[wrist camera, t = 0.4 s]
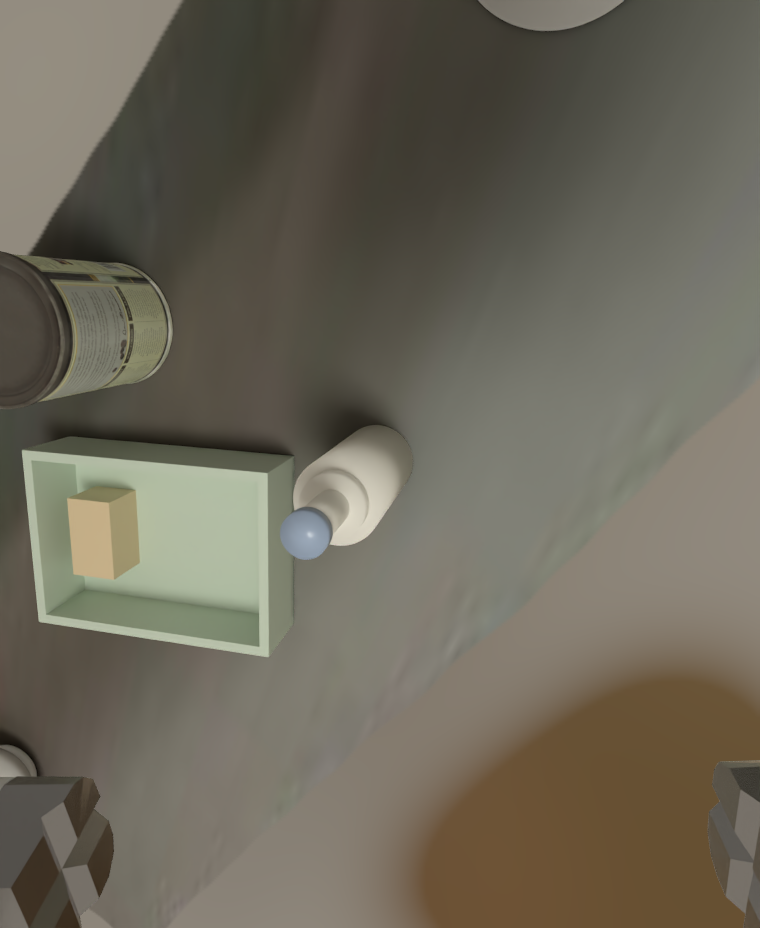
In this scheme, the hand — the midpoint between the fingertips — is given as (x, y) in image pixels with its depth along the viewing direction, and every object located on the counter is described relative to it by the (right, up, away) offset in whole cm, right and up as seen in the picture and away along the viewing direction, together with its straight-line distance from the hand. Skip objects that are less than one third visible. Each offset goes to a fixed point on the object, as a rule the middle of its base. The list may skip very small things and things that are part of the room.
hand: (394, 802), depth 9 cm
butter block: (-24, -1, +52) cm, 57 cm away
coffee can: (-22, +16, +48) cm, 56 cm away
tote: (-18, -2, +51) cm, 54 cm away
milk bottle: (0, +5, +46) cm, 46 cm away
